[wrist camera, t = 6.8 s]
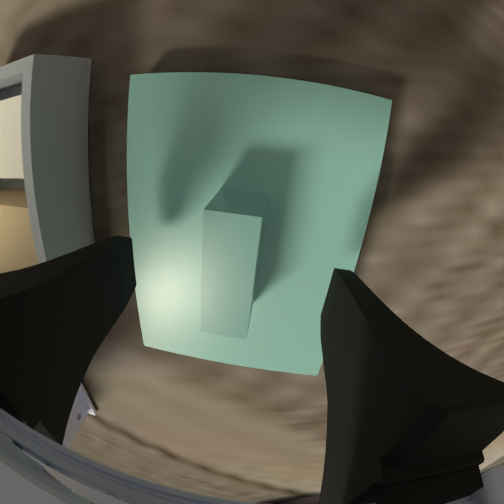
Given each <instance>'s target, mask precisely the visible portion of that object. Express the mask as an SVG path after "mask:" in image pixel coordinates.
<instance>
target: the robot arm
mask: <svg viewBox="0 0 504 504" xmlns="http://www.w3.org/2000/svg"><path fill="white" fill-rule="evenodd" d="M136 285H137V284H136V276H135V266H134V256H133V244H132V238H130V237H123V236H114V237H110V238H107V239H104V240H101V241H99V242H96V243H93V244H91V245H88V246H85V247H83V248H80V249H78V250H75V251H73V252H70V253H68V254H65V255H62V256H59V257H57V258H54V259H51V260H49V261H46V262H43V263H40V264H37V265H33V266H30V267H26V268H23V269H19V270H14V271H9V272H5V273H0V504H97V503H95V502H93V501H90V500H88V499H86V498H84V497H82V496H80V495H78V494H76V493H74V492H72V490H71V489H69V488H68V487H67V486H65V485H64V484H62V483H61V482H60V481H58V480H57V479H56V478H54V477H53V476H52V475H51V474H49V473H48V472H47V471H46V470H45V469H44V467H45V465H47V466H49V467H51V468H53V469H55V470H56V471H58V472H60V473H62V474H64V475H65V476H67V477H69V478H71V479H74V480H75V481H78V482H80V483H81V484H83V485H86V486H88V487H90V488H92V489H94V490H97V491H99V492H101V493H104V494H106V495H108V496H111V497H113V498H116V499H118V500H121V501H124V502H127V503H129V504H258V503H249V502H241V501H234V500H228V499H222V498H216V497H211V496H205V495H201V494H196V493H191V492H187V491H183V490H179V489H175V488H171V487H167V486H164V485H160V484H157V483H154V482H150V481H147V480H144V479H141V478H138V477H135V476H132V475H129V474H126V473H124V472H121V471H118V470H116V469H113V468H111V467H108V466H106V465H103V464H101V463H98V462H96V461H94V460H91V459H89V458H87V457H85V456H83V455H80V454H78V453H76V452H74V451H72V450H70V449H69V448H70V446H71V444H72V442H73V440H74V438H75V436H76V434H77V432H78V430H79V428H80V427H81V425H82V423H83V421H84V419H85V417H86V415H87V413H89V414H92V415H96V413H97V412H96V410H95V408H94V406H93V404H92V402H91V400H90V398H89V396H88V394H87V392H86V390H85V388H84V386H83V384H82V380H83V377H84V375H85V373H86V371H87V369H88V366H89V364H90V362H91V360H92V358H93V356H94V354H95V352H96V351H97V349H98V347H99V346H100V344H101V343H102V341H103V340H104V338H105V337H106V335H107V334H108V332H109V331H110V329H111V328H112V326H113V325H114V323H115V322H116V320H117V319H118V317H119V316H120V314H121V313H122V312H123V310H124V309H125V307H126V305H127V303H128V301H129V300H130V298H131V296H132V293H133V291H134V289H135V287H136ZM320 335H321V347H322V355H323V363H324V371H325V379H326V387H327V400H328V412H327V438H326V453H325V463H324V472H323V480H322V487H321V493H320V500H319V504H504V463H502V464H499V465H497V466H494V467H492V468H489V469H487V470H486V471H483V472H482V473H480V469H479V465H480V464H481V463H483V462H484V456H483V453H482V450H483V449H484V448H486V447H487V446H488V445H489V444H490V443H491V442H492V441H493V440H495V439H496V438H497V437H498V436H499V435H500V434H501V433H502V432H503V431H504V382H502V381H499V380H497V379H494V378H492V377H490V376H487V375H485V374H483V373H480V372H478V371H476V370H474V369H472V368H470V367H469V366H467V365H465V364H463V363H461V362H459V361H458V360H456V359H454V358H452V357H451V356H449V355H447V354H446V353H444V352H443V351H441V350H440V349H438V348H437V347H435V346H434V345H432V344H431V343H430V342H428V341H427V340H425V339H424V338H423V337H422V336H420V335H419V334H418V333H416V332H415V331H414V330H413V329H411V328H410V327H409V326H408V325H407V324H405V323H404V322H403V321H402V320H401V319H400V318H399V317H398V316H397V315H396V314H394V313H393V312H392V311H391V310H390V309H389V308H388V307H387V306H386V305H385V304H384V303H383V302H382V301H381V300H380V299H379V298H378V297H377V296H376V295H375V294H374V293H373V292H372V291H371V290H370V289H369V288H368V286H367V285H366V284H365V283H364V282H363V281H362V280H361V279H360V278H359V277H358V276H357V275H356V274H355V273H354V272H352V271H351V270H345V269H338V268H334V270H333V274H332V277H331V281H330V284H329V288H328V292H327V295H326V298H325V302H324V305H323V309H322V312H321V322H320Z"/></svg>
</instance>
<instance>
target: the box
mask: <svg viewBox="0 0 504 504" xmlns="http://www.w3.org/2000/svg"><path fill="white" fill-rule="evenodd" d="M91 64H92V59H91V58H82V57H72V56H60V55H44V54H33V55H30V56H27V57H25V58H22V59H19V60H17V61H14V62H12V63H9V64H7V65H5V66H2V67H0V273H5V272H9V271H14V270H19V269H23V268H26V267H30V266H33V265H37V264H40V263H43V262H46V261H49V260H51V259H54V258H57V257H59V256H62V255H65V254H68V253H70V252H73V251H75V250H78V249H80V248H83V247H85V246H88V245H91V244H93V243H95V237H94V229H93V220H92V210H91V199H90V185H89V165H88V106H89V87H90V74H91Z"/></svg>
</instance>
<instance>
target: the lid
mask: <svg viewBox="0 0 504 504" xmlns="http://www.w3.org/2000/svg"><path fill="white" fill-rule="evenodd" d="M391 106H392V100H389V99H386V98H382V97H378V96H375V95H371V94H367V93H363V92H359V91H354V90H350V89H345V88H340V87H336V86H330V85H325V84H320V83H314V82H308V81H302V80H295V79H287V78H280V77H271V76H261V75H250V74H236V73H214V72H168V73H147V74H133V75H130V86H129V101H128V121H127V194H128V215H129V231H130V238H132V244H133V256H134V266H135V276H136V284H137V285H136V287H135V290H136V298H137V305H138V312H139V318H140V324H141V330H142V336H143V342H144V346H148V347H152V348H156V349H160V350H165V351H169V352H173V353H178V354H182V355H187V356H191V357H196V358H201V359H206V360H211V361H216V362H222V363H227V364H233V365H239V366H245V367H252V368H258V369H265V370H273V371H280V372H289V373H297V374H307V375H318V372H319V370H320V367H321V365H322V362H323V355H322V347H321V335H320V322H321V312H322V309H323V305H324V302H325V298H326V295H327V292H328V288H329V284H330V281H331V277H332V274H333V270H334V268H338V269H345V270H351V271H352V272H354V270H355V267H356V263H357V260H358V256H359V253H360V249H361V246H362V242H363V239H364V235H365V231H366V227H367V224H368V220H369V216H370V212H371V208H372V204H373V199H374V195H375V191H376V187H377V182H378V177H379V173H380V168H381V163H382V158H383V153H384V148H385V142H386V137H387V131H388V125H389V119H390V113H391Z"/></svg>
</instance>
